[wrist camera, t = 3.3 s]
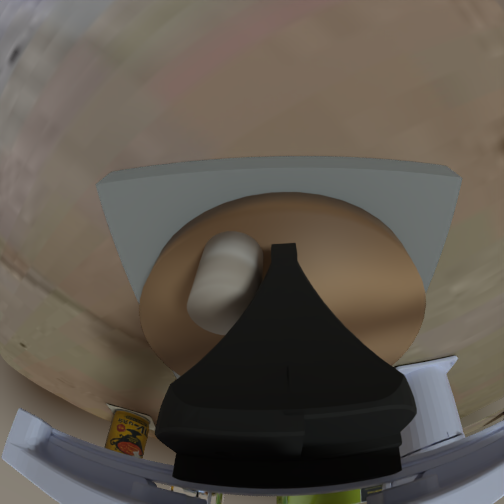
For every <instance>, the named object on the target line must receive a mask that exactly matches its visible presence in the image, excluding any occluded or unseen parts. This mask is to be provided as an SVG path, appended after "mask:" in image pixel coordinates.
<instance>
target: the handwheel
mask: <svg viewBox="0 0 504 504" xmlns="http://www.w3.org/2000/svg"><path fill="white" fill-rule="evenodd" d="M282 243H296V248H297V259H298V263H299V265H300V266H301V268H302V270H303V272H304V273H305V275H306V277H307V278H308V280H309V282H310V283H311V285H312V286H313V288H314V289H315V290H316V292H317V293H318V295H319V296H320V297H321V299H322V300H323V301H324V303H325V304H326V305H327V306H328V308H329V309H330V310H331V311H332V312H333V313H334V315H335V316H336V317H337V318H338V319H339V320H340V321H341V322H342V323H343V324H344V325H345V327H346V328H348V329H349V330H350V331H351V332H352V333H353V334H354V335H355V336H356V337H357V338H358V339H359V340H360V341H361V342H362V343H363V344H364V345H366V346H367V347H368V348H369V349H370V350H372V351H373V352H374V353H375V354H376V355H378V356H379V357H380V358H381V359H383V360H384V361H385V362H387V363H388V364H389V365H391V366H392V365H393V364H394V363H395V362H397V361H398V360H399V359H400V358H401V357H402V355H403V354H404V353H405V352H406V351H407V350H408V348H409V347H410V346H411V344H412V343H413V341H414V340H415V338H416V336H417V334H418V332H419V330H420V328H421V325H422V322H423V319H424V314H425V308H426V296H425V290H424V285H423V281H422V279H421V277H420V275H419V272H418V270H417V268H416V266H415V265H414V263H413V261H412V259H411V258H410V256H409V254H408V253H407V251H406V249H405V248H404V246H403V244H402V243H401V241H400V240H399V239H398V238H397V236H396V235H395V234H394V233H393V231H392V230H391V229H390V228H389V227H387V226H386V225H385V224H384V223H383V222H382V221H381V220H379V219H378V218H377V217H375V216H373V215H372V214H370V213H369V212H367V211H365V210H364V209H362V208H360V207H357V206H355V205H353V204H350V203H348V202H345V201H343V200H340V199H336V198H332V197H328V196H324V195H320V194H311V193H302V192H271V193H264V194H258V195H251V196H246V197H242V198H239V199H236V200H232V201H229V202H226V203H223V204H221V205H218V206H216V207H214V208H212V209H210V210H207V211H205V212H203V213H202V214H200V215H199V216H197V217H196V218H194V219H192V220H191V221H189V222H188V223H186V224H185V225H184V226H183V227H182V228H181V229H180V230H179V231H177V232H176V233H175V234H174V235H173V236H172V237H171V239H170V240H169V241H168V242H167V244H166V245H165V246H164V248H163V249H162V251H161V253H160V255H159V256H158V258H157V260H156V262H155V264H154V266H153V268H152V270H151V272H150V274H149V276H148V278H147V280H146V283H145V285H144V287H143V290H142V294H141V297H140V304H139V316H140V323H141V327H142V330H143V333H144V335H145V337H146V339H147V341H148V343H149V345H150V347H151V348H152V349H153V351H154V352H155V353H156V355H157V356H158V357H159V358H160V359H161V360H162V361H163V362H164V363H165V364H166V365H167V366H168V367H169V368H171V369H172V370H173V371H174V372H175V373H177V374H178V375H180V376H182V375H183V374H184V373H185V372H187V371H188V370H189V369H190V368H192V367H193V366H194V365H195V364H196V363H198V362H199V361H200V360H201V359H202V358H203V357H204V356H205V355H206V354H207V353H208V352H209V351H210V350H211V349H212V348H213V347H214V346H215V345H216V344H217V343H218V342H219V341H220V340H221V339H222V338H223V337H224V336H225V335H226V334H227V333H228V331H229V330H230V329H231V328H232V326H233V325H234V324H235V323H236V322H237V320H238V319H239V318H240V316H241V315H242V314H243V312H244V311H245V310H246V308H247V307H248V305H249V304H250V302H251V301H252V299H253V297H254V296H255V294H256V292H257V290H258V289H259V287H260V285H261V283H262V281H263V279H264V277H265V275H266V273H267V271H268V269H269V267H270V264H271V244H282Z"/></svg>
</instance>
